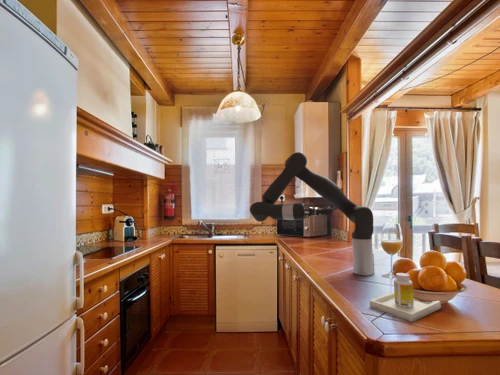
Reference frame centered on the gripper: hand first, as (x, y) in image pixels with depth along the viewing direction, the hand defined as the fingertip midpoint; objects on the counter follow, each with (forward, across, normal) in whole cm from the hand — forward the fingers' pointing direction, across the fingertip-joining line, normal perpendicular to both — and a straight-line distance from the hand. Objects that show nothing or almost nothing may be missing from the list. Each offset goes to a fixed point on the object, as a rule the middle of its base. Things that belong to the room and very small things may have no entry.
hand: (331, 211), depth 113 cm
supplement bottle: (+24, -14, +31) cm, 42 cm away
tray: (+24, -14, +32) cm, 42 cm away
